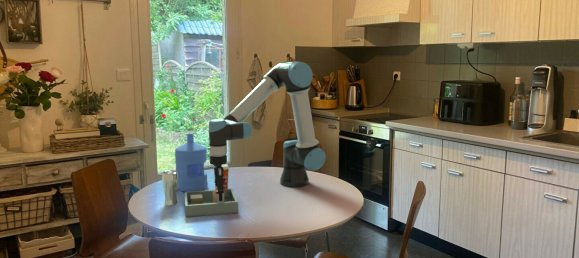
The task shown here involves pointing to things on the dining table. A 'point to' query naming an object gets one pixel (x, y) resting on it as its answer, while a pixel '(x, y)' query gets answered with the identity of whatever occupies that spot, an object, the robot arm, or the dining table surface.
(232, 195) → the tote
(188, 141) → the water jug
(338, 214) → the dining table surface
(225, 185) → the paper cup
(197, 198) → the walnut cube
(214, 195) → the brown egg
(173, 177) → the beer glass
